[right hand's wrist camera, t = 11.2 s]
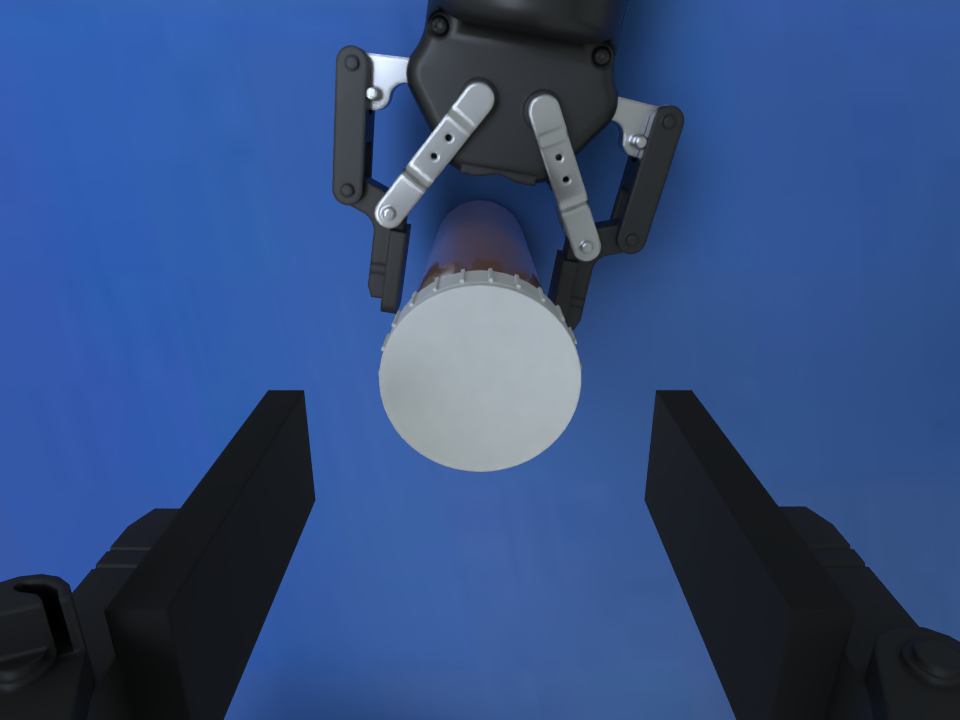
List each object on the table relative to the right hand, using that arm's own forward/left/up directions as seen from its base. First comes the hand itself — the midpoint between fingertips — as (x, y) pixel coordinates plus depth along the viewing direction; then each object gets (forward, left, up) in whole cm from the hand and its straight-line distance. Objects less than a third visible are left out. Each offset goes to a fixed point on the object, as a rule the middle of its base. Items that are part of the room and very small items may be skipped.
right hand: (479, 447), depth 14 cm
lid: (0, 0, -4) cm, 4 cm away
